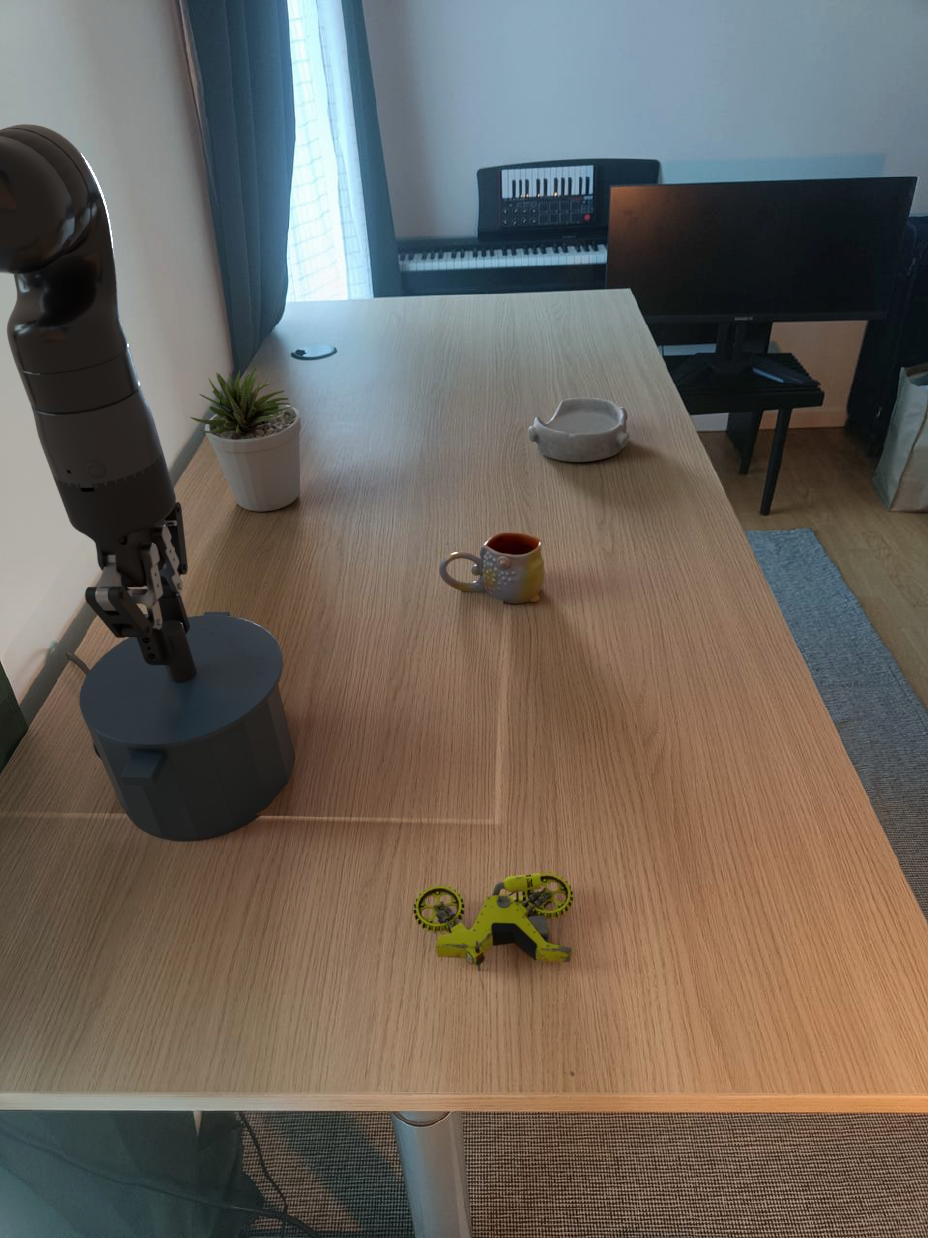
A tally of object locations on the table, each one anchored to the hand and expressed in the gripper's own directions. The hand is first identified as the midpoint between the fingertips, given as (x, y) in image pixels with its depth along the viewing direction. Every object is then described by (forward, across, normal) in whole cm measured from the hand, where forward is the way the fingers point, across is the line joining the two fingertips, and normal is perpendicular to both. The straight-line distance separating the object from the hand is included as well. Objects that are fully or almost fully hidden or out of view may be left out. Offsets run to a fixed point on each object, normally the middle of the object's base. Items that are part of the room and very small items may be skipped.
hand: (169, 646), depth 71 cm
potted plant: (+15, -52, -8) cm, 55 cm away
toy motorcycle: (+15, +16, +27) cm, 35 cm away
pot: (+15, 0, 0) cm, 15 cm away
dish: (+15, -67, +37) cm, 78 cm away
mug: (+15, -29, +25) cm, 41 cm away
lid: (+3, 0, 0) cm, 3 cm away
